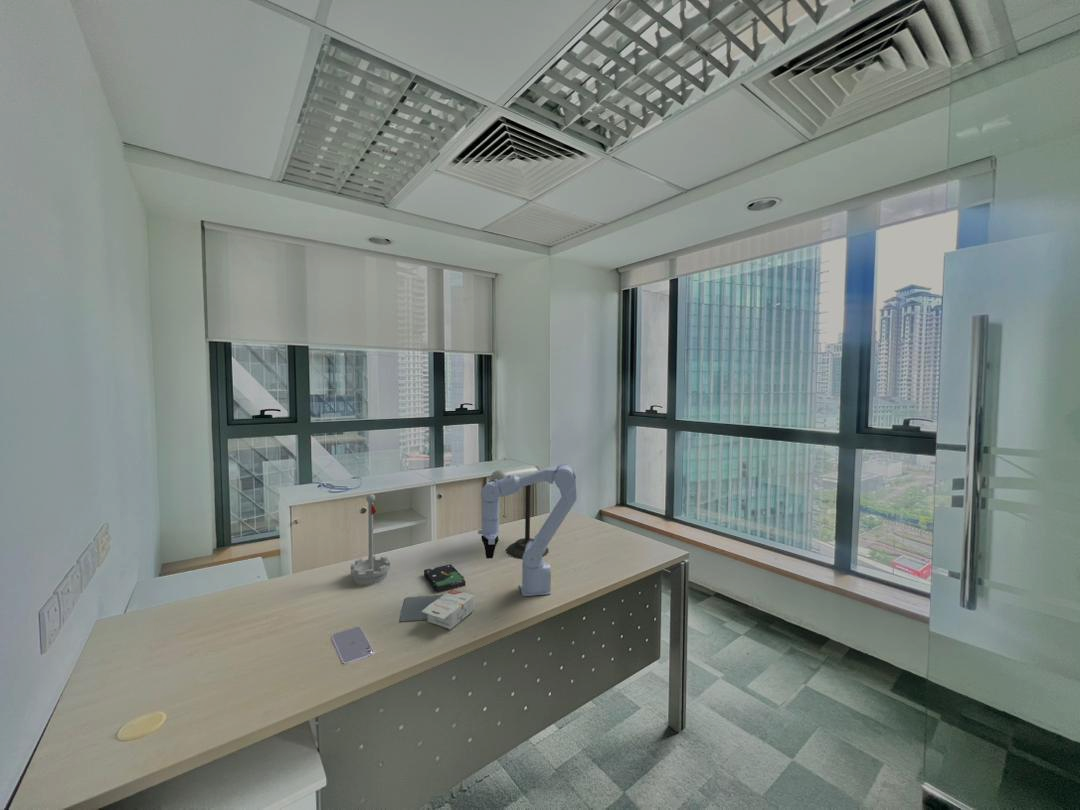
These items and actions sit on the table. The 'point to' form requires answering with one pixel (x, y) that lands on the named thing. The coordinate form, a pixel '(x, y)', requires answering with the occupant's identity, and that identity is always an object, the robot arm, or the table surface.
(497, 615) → the table surface
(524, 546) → the lamp
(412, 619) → the mat
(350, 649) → the mobile phone
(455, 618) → the ink cartridge box
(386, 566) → the flag stand
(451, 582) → the disk drive
